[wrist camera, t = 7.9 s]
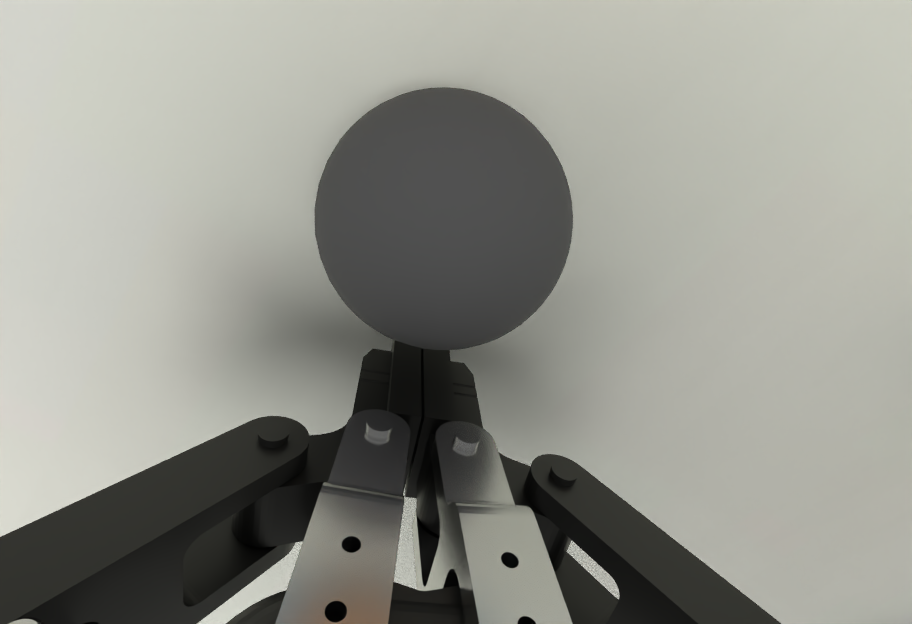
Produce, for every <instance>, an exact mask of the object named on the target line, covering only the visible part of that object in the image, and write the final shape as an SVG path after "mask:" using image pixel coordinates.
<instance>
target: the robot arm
mask: <svg viewBox="0 0 912 624" xmlns="http://www.w3.org/2000/svg"><path fill="white" fill-rule="evenodd" d="M405 484H406V487H405ZM404 488H405V497H412V498H417V508H416V512H415V515H414V519H413V523H412V533H413V546H414V559H415V572H416V585H417V590H416V589H413V588H410V587H407V586H404V585H401V584H398V583H395V582H394V574H395V566H396V559H397V551H398V543H399V536H400V528H401V520H402V513H403V505H404V496H403V492H404ZM571 540H572V541H574V542H575V543H576V544H577V545H578V546H579V547H580V548H581V549H582V550H583V551H585V552H586V553H587V554H588V555H589V556H590V557H591V558H592V559H593V560H594V561H596V562H597V563H598V564H599V565H600V566H601V567H602V568H603V569H604V570H605V571H607V572H608V573H609V574H610V575H611V576H612V578H613V579H614V580H615V582H616V584H617V586H618V589H619V593H620V598H619V600H618V599H617V598H616V597H614V596H613V595H612V594H611V593H610V592H609V591H608V590H607V589H606V588H605V587H604V586H603V585H601V584H600V583H599V582H598V581H597V580H596V579H595V578H594V577H593V576H592V575H591V574H590V573H589V572H588V571H586V570H585V569H584V568H583V567H582V566H581V565H580V564H579V563H578V562H577V561H576V560H575V559H574V558H573V557H572V556H570V555H569V554H568V553H567V552H566V551H567V549H568V547H569V545H570V543H571ZM300 541H303V543H302V546H301V549H300V552H299V555H298V558H297V561H296V564H295V567H294V570H293V573H292V576H291V579H290V582H289V585H288V588H287V590H286V591H282V592H279V593H277V594H274V595H272V596H269V597H267V598H265V599H263V600H261V601H259V602H257V603H255V604H253V605H252V606H250V607H248V608H247V609H245V610H244V611H242V612H241V613H239V614H238V615H236V616H235V617H234V618H233V619H231V620H230V621H229V622H228V623H226V624H781V623H780V622H778V621H777V620H776V619H775V618H773V617H772V616H771V615H770V614H768V613H767V612H766V611H764V610H763V609H762V608H761V607H759V606H758V605H757V604H756V603H754V602H753V601H752V600H750V599H749V598H748V597H747V596H745V595H744V594H743V593H741V592H740V591H739V590H738V589H736V588H735V587H734V586H733V585H731V584H730V583H729V582H727V581H726V580H725V579H724V578H722V577H721V576H720V575H719V574H717V573H716V572H715V571H713V570H712V569H711V568H710V567H708V566H707V565H706V564H705V563H703V562H702V561H701V560H699V559H698V558H697V557H696V556H694V555H693V554H692V553H691V552H689V551H688V550H687V549H685V548H684V547H683V546H682V545H680V544H679V543H678V542H677V541H675V540H674V539H673V538H671V537H670V536H669V535H668V534H666V533H665V532H664V531H662V530H661V529H660V528H659V527H657V526H656V525H655V524H654V523H652V522H651V521H650V520H648V519H647V518H646V517H645V516H643V515H642V514H641V513H640V512H638V511H637V510H636V509H634V508H633V507H632V506H631V505H629V504H628V503H627V502H626V501H624V500H623V499H622V498H620V497H619V496H618V495H617V494H615V493H614V492H613V491H612V490H610V489H609V488H608V487H606V486H605V485H604V484H603V483H601V482H600V481H599V480H598V479H596V478H595V477H594V476H592V475H591V474H590V473H589V472H587V471H586V470H585V469H583V468H582V467H581V466H580V465H578V464H577V463H575V462H574V461H572V460H570V459H568V458H565V457H562V456H559V455H553V454H545V455H541V456H538V457H537V458H535V459H534V460H533V462H532V464H531V466H528V465H525V464H522V463H520V462H517V461H514V460H512V459H510V458H507V457H505V456H504V455H502V454H500V453H499V452H498V450H497V446H496V443H495V441H494V439H493V438H492V436H491V435H490V434H489V433H488V432H487V431H486V430H484V429H483V426H482V421H481V415H480V410H479V404H478V399H477V393H476V388H475V383H474V377H473V374H472V373H471V371H470V370H469V369H468V368H467V367H466V365H465V364H464V363H459V362H453V361H450V353H449V350H432V349H424V348H419V347H415V346H411V345H408V344H405V343H402V342H399V341H396V340H393V344H392V349H391V352H390V351H384V350H378V349H372V350H371V351H370V352H369V353H368V354H367V355H365V356H364V357H363V362H362V367H361V372H360V378H359V383H358V388H357V393H356V398H355V404H354V409H353V414H352V417H351V418H350V419H349V420H348V422H347V424H346V425H345V426H344V427H343V428H341V429H339V430H337V431H334V432H331V433H327V434H321V435H311V436H309V434H308V431H307V430H306V428H305V427H304V426H303V425H302V424H300V423H299V422H297V421H295V420H293V419H290V418H286V417H281V416H267V417H261V418H257V419H254V420H252V421H250V422H247V423H245V424H243V425H241V426H239V427H237V428H234V429H232V430H230V431H228V432H226V433H224V434H221V435H219V436H217V437H215V438H213V439H211V440H209V441H206V442H204V443H202V444H200V445H198V446H196V447H193V448H191V449H189V450H187V451H185V452H183V453H181V454H178V455H176V456H174V457H172V458H170V459H168V460H165V461H163V462H161V463H159V464H157V465H155V466H153V467H150V468H148V469H146V470H144V471H142V472H140V473H137V474H135V475H133V476H131V477H129V478H127V479H125V480H122V481H120V482H118V483H116V484H114V485H112V486H109V487H107V488H105V489H103V490H101V491H99V492H96V493H94V494H92V495H90V496H88V497H86V498H84V499H81V500H79V501H77V502H75V503H73V504H71V505H68V506H66V507H64V508H62V509H60V510H58V511H56V512H53V513H51V514H49V515H47V516H45V517H43V518H40V519H38V520H36V521H34V522H32V523H30V524H28V525H25V526H23V527H21V528H19V529H17V530H15V531H12V532H10V533H8V534H6V535H4V536H2V537H0V624H197V623H198V622H199V621H201V620H202V619H203V618H205V617H206V616H207V615H209V614H210V613H211V612H213V611H214V610H215V609H216V608H218V607H219V606H220V605H222V604H223V603H224V602H226V601H227V600H228V599H230V598H231V597H232V596H234V595H235V594H236V593H237V592H239V591H240V590H241V589H243V588H244V587H245V586H247V585H248V584H249V583H251V582H252V581H253V580H255V579H256V578H257V577H259V576H260V575H261V574H262V573H264V572H265V571H266V570H268V569H269V568H270V567H272V566H273V565H274V564H276V563H277V562H278V561H280V560H281V559H282V558H283V557H285V556H286V555H287V554H288V553H289V552H290V551H291V550H292V548H293V546H294V545H295V542H300Z"/></svg>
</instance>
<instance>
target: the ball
mask: <svg viewBox="0 0 912 624" xmlns="http://www.w3.org/2000/svg"><path fill="white" fill-rule="evenodd" d="M572 228H573V212H572V201H571V195H570V190H569V186H568V183H567V179H566V176H565V173H564V171H563V168H562V166H561V164H560V162H559V160H558V158H557V156H556V154H555V152H554V151H553V149H552V147H551V145H550V144H549V143H548V141H547V140H546V139H545V138H544V137H543V135H542V134H541V133H540V132H539V131H538V129H537V128H536V127H535V126H534V125H533V124H532V123H531V122H530V121H529V120H528V119H526V118H525V117H524V116H523V115H521V114H520V113H519V112H517V111H516V110H514V109H513V108H511V107H510V106H508V105H506V104H505V103H503V102H501V101H499V100H497V99H495V98H493V97H490V96H487V95H484V94H481V93H478V92H474V91H470V90H465V89H457V88H428V89H422V90H416V91H412V92H409V93H405V94H402V95H399V96H397V97H395V98H393V99H390V100H388V101H386V102H384V103H382V104H380V105H378V106H377V107H375V108H374V109H372V110H370V111H369V112H367V113H366V114H365V115H364V116H363V117H362V118H360V119H359V120H358V121H357V122H356V123H355V124H354V125H353V126H352V127H351V128H350V129H349V130H348V131H347V132H346V133H345V135H344V136H343V137H342V138H341V139H340V141H339V143H338V144H337V146H336V147H335V149H334V151H333V152H332V154H331V156H330V157H329V159H328V161H327V163H326V166H325V169H324V171H323V174H322V177H321V180H320V182H319V186H318V192H317V198H316V204H315V235H316V240H317V245H318V249H319V254H320V258H321V261H322V263H323V266H324V268H325V270H326V273H327V275H328V277H329V280H330V282H331V283H332V285H333V286H334V288H335V290H336V291H337V293H338V294H339V296H340V297H341V299H342V300H343V301H344V302H345V304H346V305H347V306H348V307H349V308H350V309H351V310H352V311H353V312H354V313H355V314H356V315H357V316H358V317H359V318H360V319H361V320H362V321H364V322H365V323H366V324H368V325H369V326H371V327H372V328H374V329H375V330H377V331H378V332H380V333H381V334H383V335H385V336H387V337H389V338H391V339H394V340H396V341H399V342H402V343H405V344H408V345H411V346H415V347H419V348H424V349H432V350H456V349H464V348H469V347H473V346H477V345H481V344H484V343H487V342H490V341H493V340H495V339H497V338H499V337H501V336H503V335H505V334H507V333H508V332H510V331H512V330H513V329H515V328H516V327H518V326H519V325H521V324H522V323H523V322H524V321H525V320H527V319H528V318H529V317H530V316H531V315H532V314H533V313H534V312H536V311H537V309H538V308H539V307H540V306H541V305H542V304H543V302H544V301H545V300H546V298H547V297H548V296H549V294H550V293H551V291H552V290H553V288H554V287H555V285H556V283H557V281H558V279H559V277H560V275H561V273H562V270H563V268H564V266H565V263H566V259H567V256H568V253H569V248H570V244H571V237H572Z"/></svg>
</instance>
